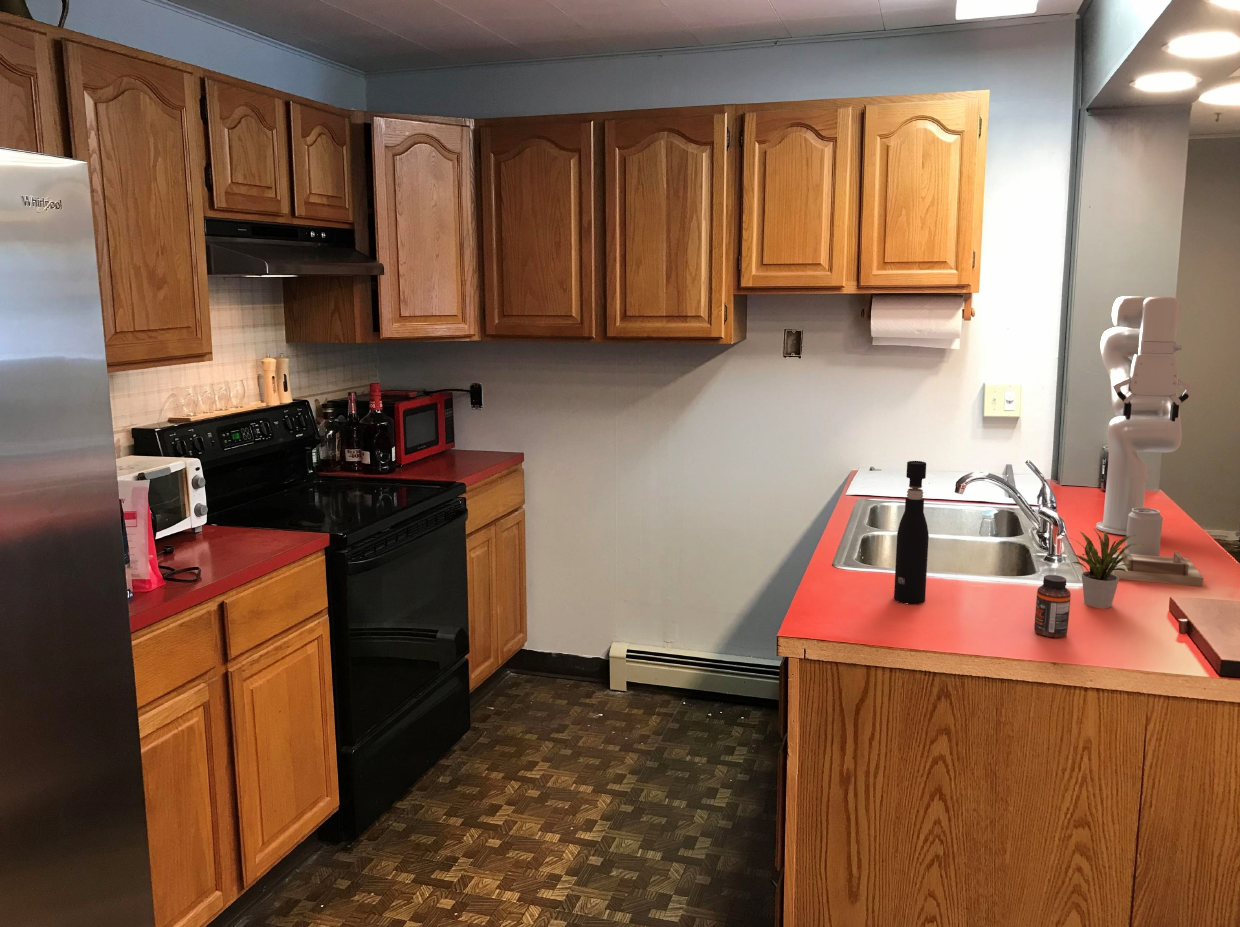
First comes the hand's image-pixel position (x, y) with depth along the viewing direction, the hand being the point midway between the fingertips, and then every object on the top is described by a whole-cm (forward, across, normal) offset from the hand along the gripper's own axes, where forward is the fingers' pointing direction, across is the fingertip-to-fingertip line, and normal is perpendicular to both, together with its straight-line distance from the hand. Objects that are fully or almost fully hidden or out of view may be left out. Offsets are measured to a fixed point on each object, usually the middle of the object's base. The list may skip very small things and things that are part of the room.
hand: (1149, 420), depth 236 cm
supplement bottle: (+36, +24, +66) cm, 79 cm away
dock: (+34, -1, +15) cm, 37 cm away
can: (+34, -1, +1) cm, 34 cm away
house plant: (+35, +12, +44) cm, 58 cm away
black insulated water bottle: (+35, +51, +54) cm, 82 cm away
